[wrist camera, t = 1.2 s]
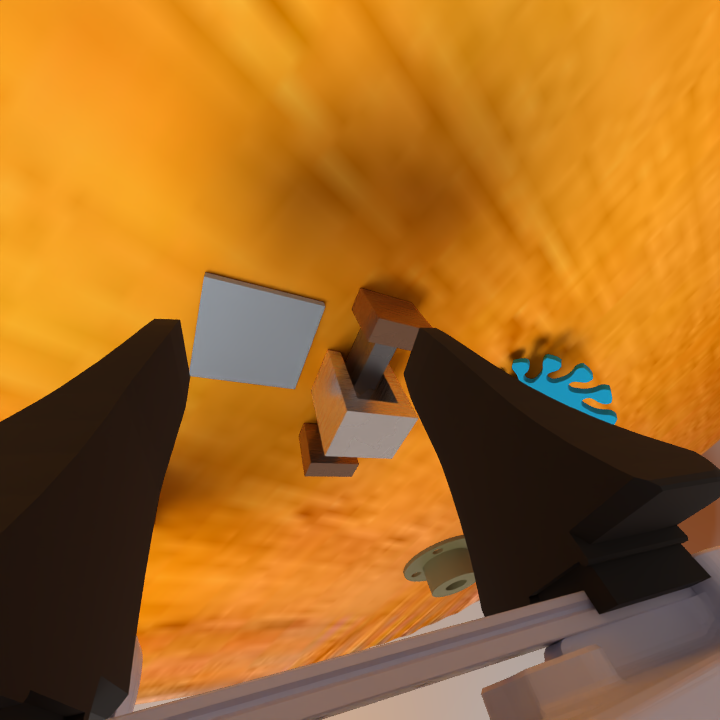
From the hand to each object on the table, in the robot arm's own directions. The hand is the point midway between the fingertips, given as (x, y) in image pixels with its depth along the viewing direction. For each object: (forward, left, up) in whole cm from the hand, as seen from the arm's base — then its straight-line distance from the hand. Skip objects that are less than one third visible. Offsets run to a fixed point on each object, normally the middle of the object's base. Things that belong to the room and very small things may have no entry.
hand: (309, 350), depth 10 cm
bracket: (-8, -7, -11) cm, 15 cm away
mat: (-6, 0, -11) cm, 12 cm away
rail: (-8, -7, -11) cm, 15 cm away
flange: (-43, -39, -11) cm, 59 cm away
